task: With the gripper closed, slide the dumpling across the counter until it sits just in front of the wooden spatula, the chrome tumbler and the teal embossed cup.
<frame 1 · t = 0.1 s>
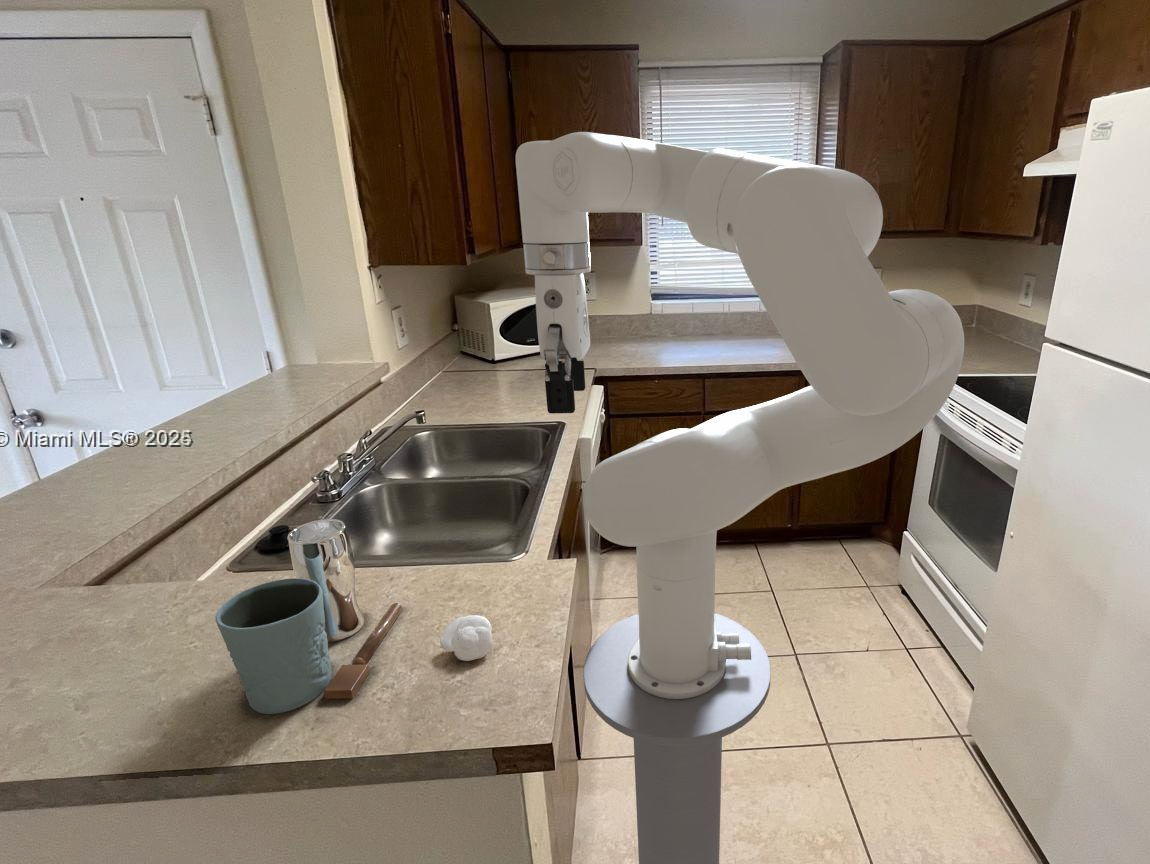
hand: (567, 400, 77), 31 cm above the counter, tool pointing down, fingers open, 9 cm apart
teal embossed cup: (294, 687, 73), on the counter
dumpling: (468, 651, 79), on the counter
wooden spatula: (371, 651, 79), on the counter
chrome tumbler: (340, 629, 83), on the counter
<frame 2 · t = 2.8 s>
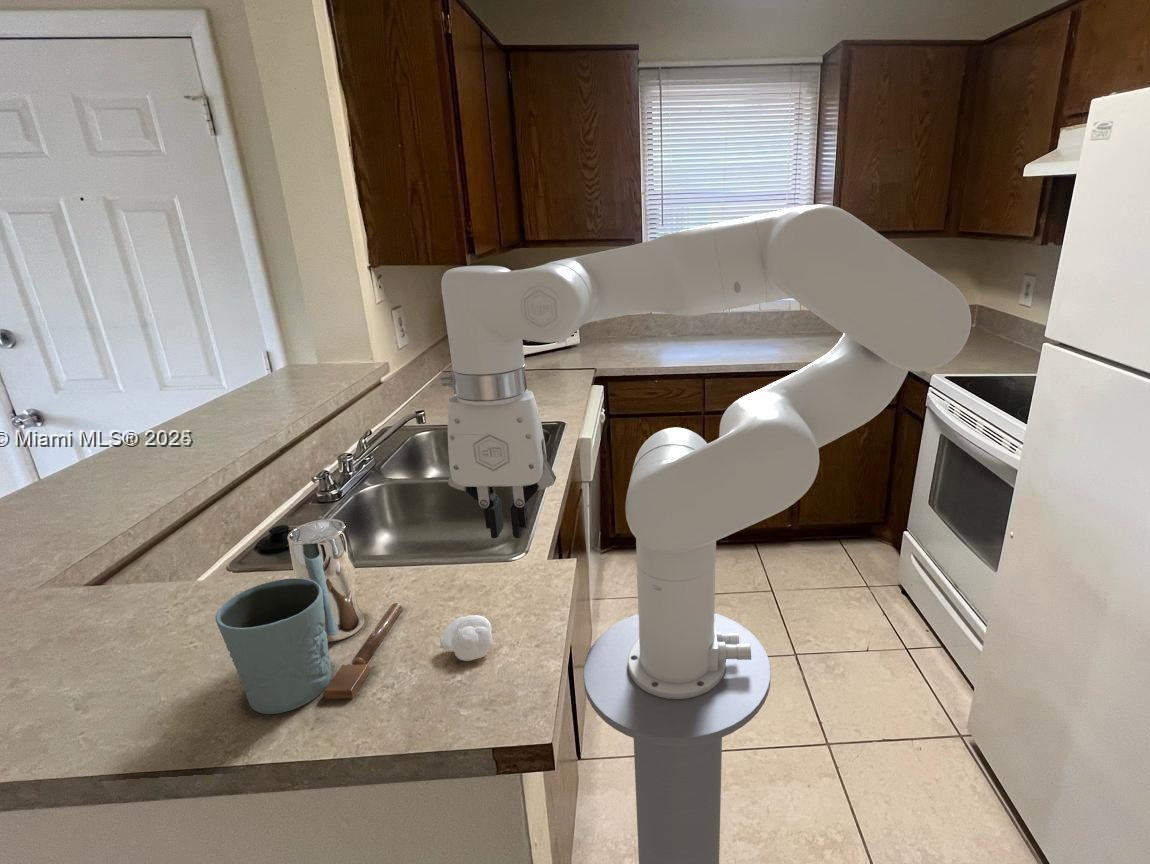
hand: (508, 531, 73), 17 cm above the counter, tool pointing down, fingers closed
nothing on the counter moved.
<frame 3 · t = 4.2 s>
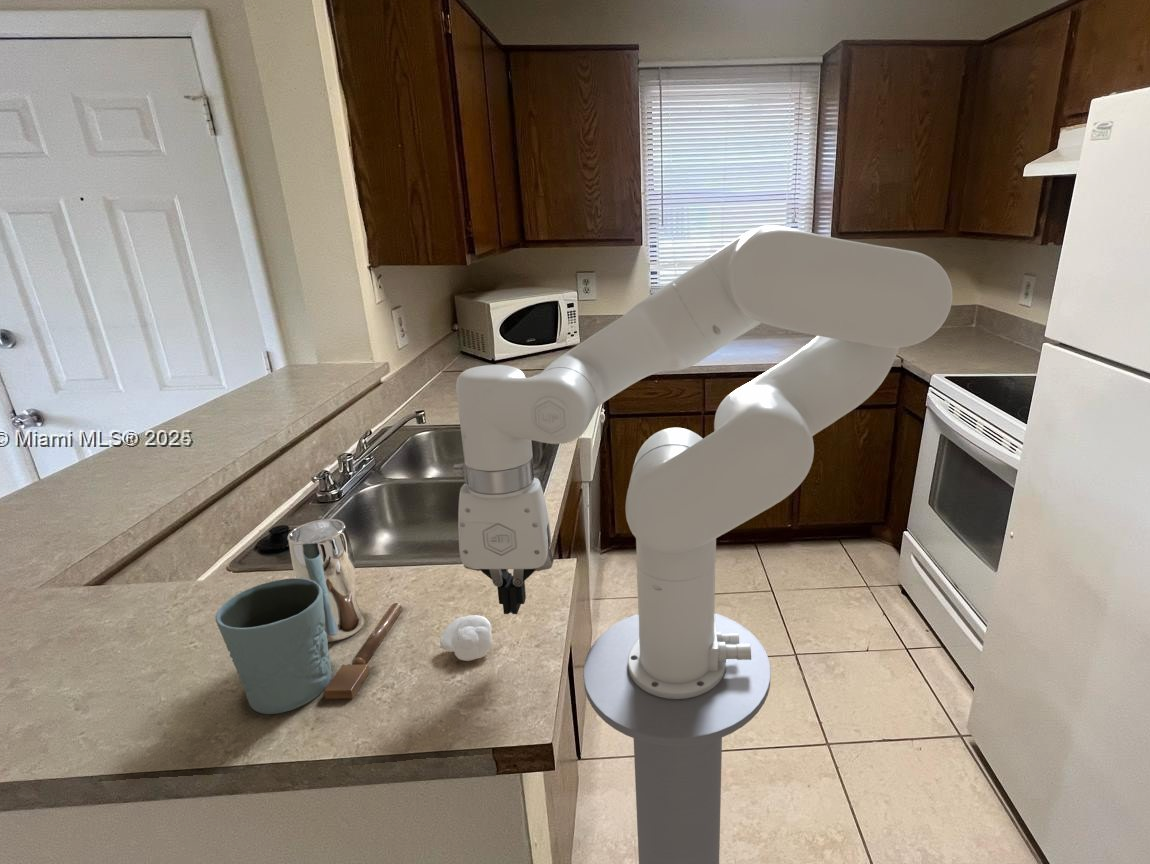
hand: (513, 607, 77), 6 cm above the counter, tool pointing down, fingers closed
nothing on the counter moved.
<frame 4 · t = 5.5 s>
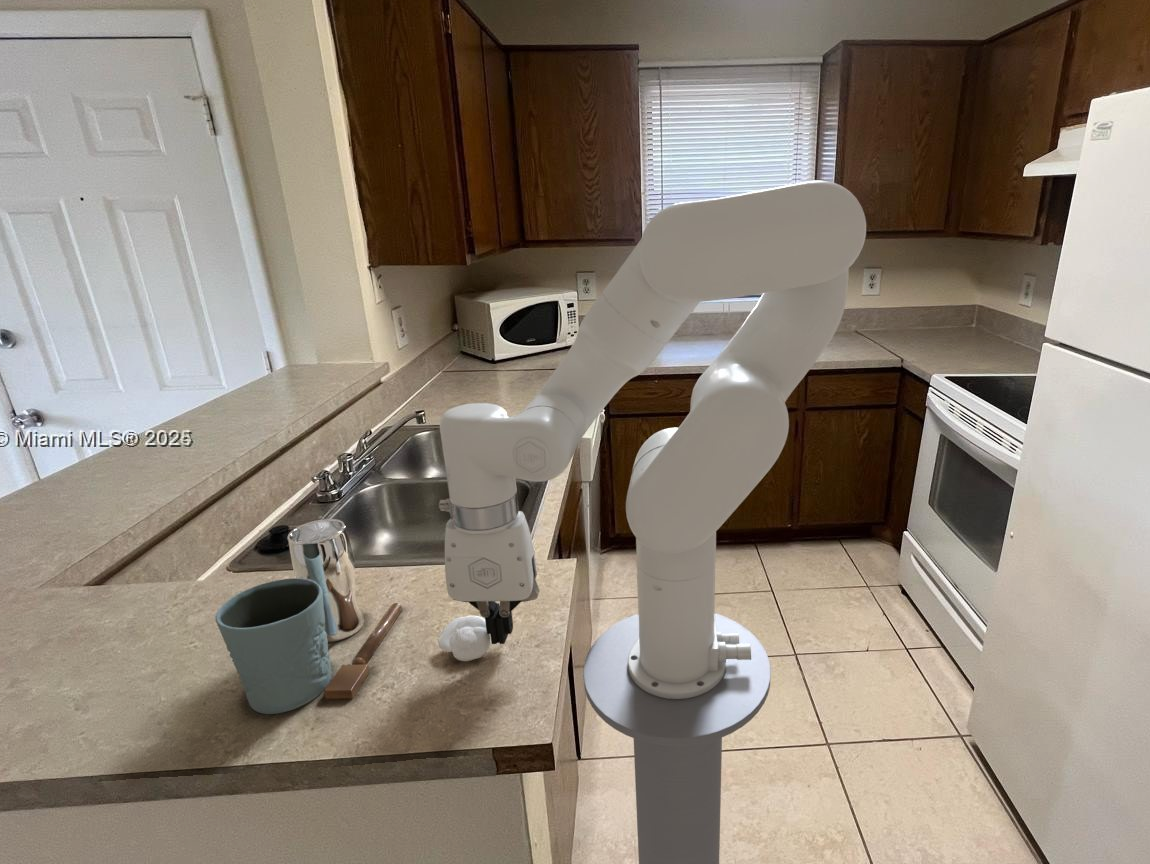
hand: (501, 636, 78), 2 cm above the counter, tool pointing down, fingers closed
dumpling: (466, 651, 79), on the counter, touching gripper
everything else where it was.
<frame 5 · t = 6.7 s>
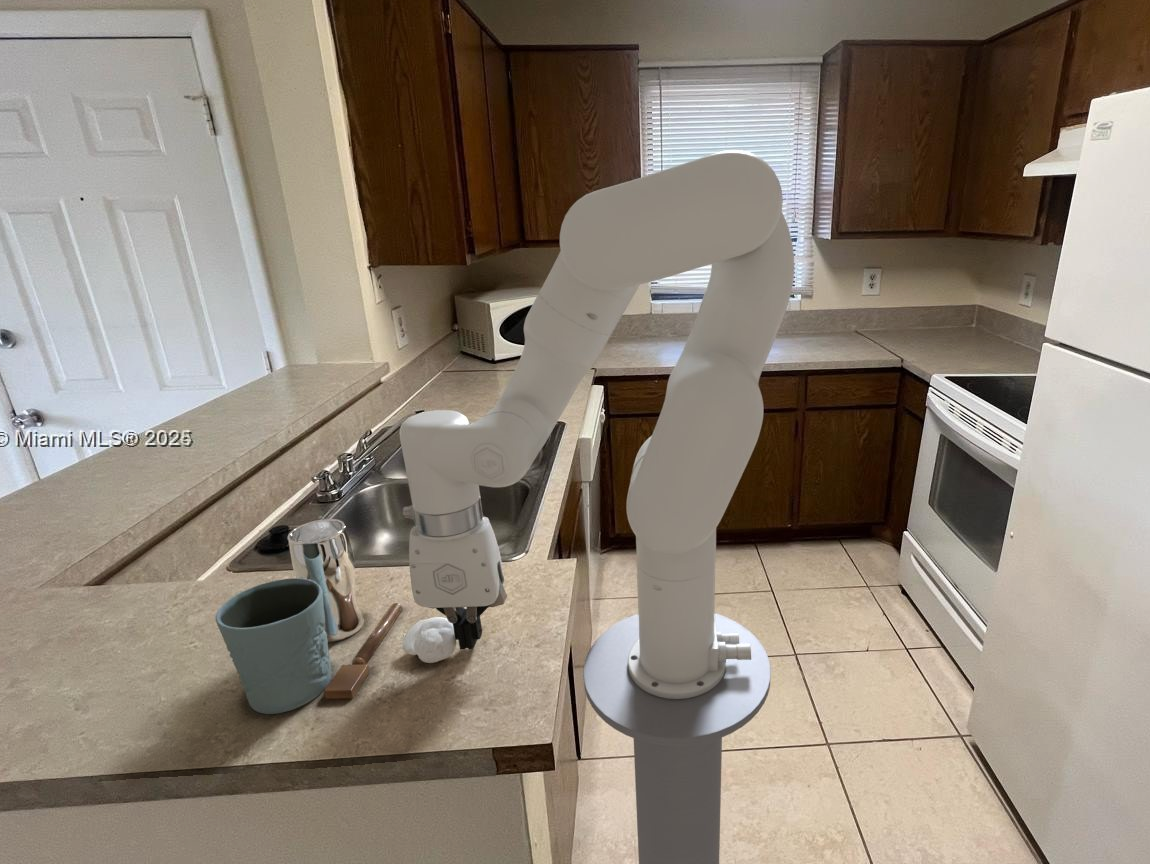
hand: (470, 642, 78), 1 cm above the counter, tool pointing down, fingers closed
dumpling: (431, 653, 79), on the counter, touching gripper
everything else where it was.
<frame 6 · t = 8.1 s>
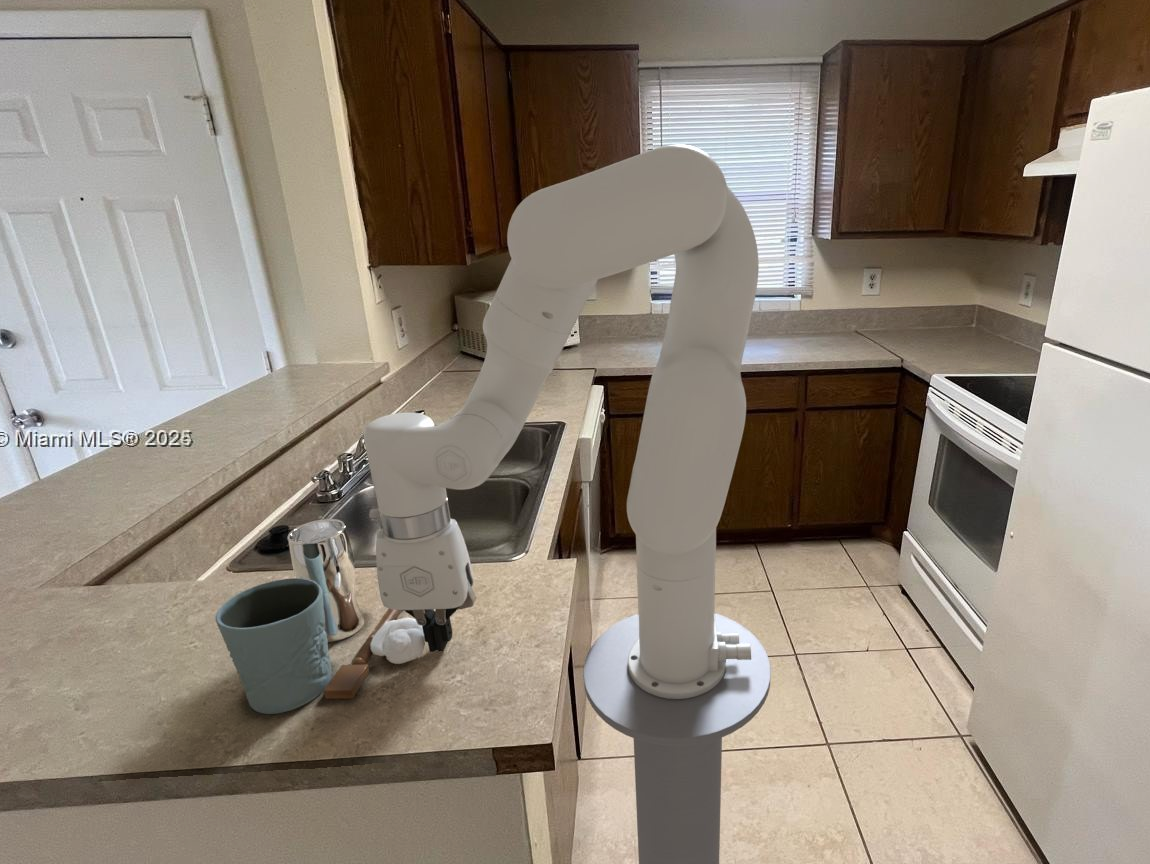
hand: (440, 644, 78), 1 cm above the counter, tool pointing down, fingers closed
dumpling: (400, 654, 78), on the counter, touching gripper
everything else where it was.
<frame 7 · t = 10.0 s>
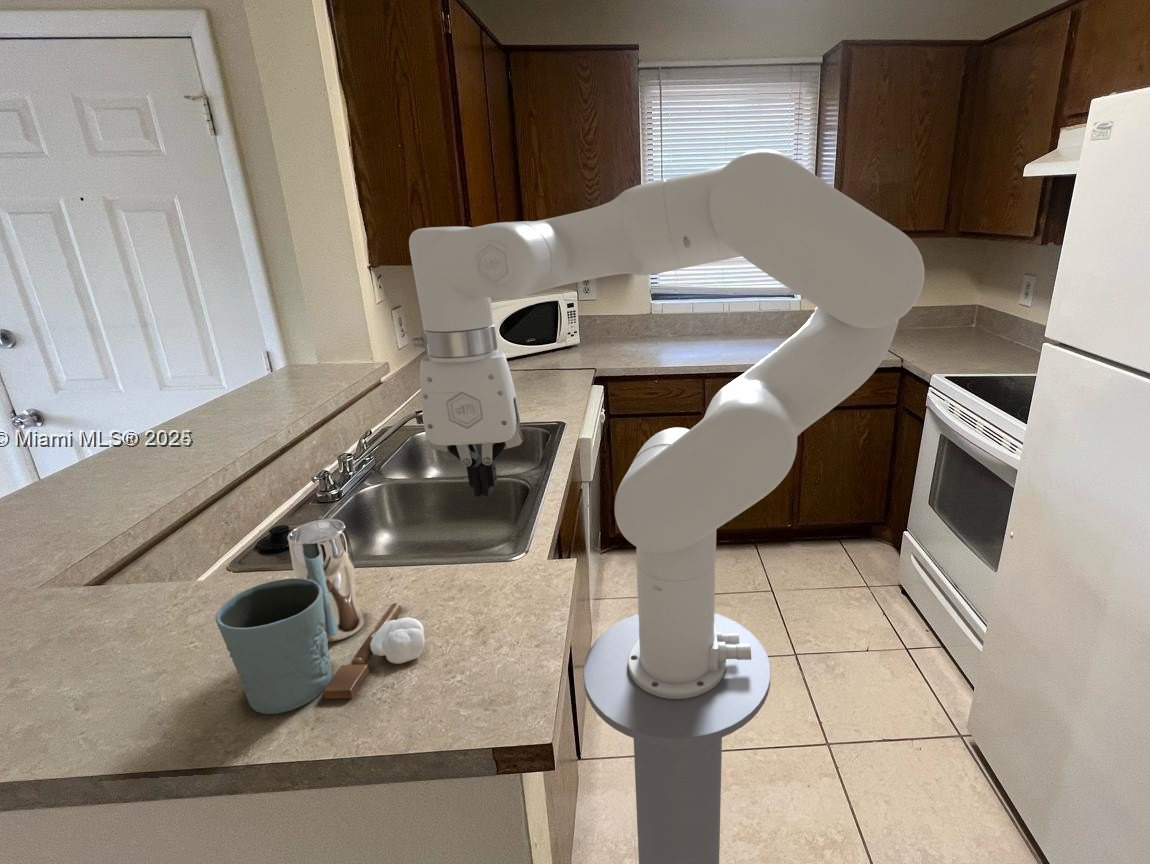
hand: (485, 491, 75), 21 cm above the counter, tool pointing down, fingers closed
dumpling: (400, 654, 78), on the counter
everything else where it was.
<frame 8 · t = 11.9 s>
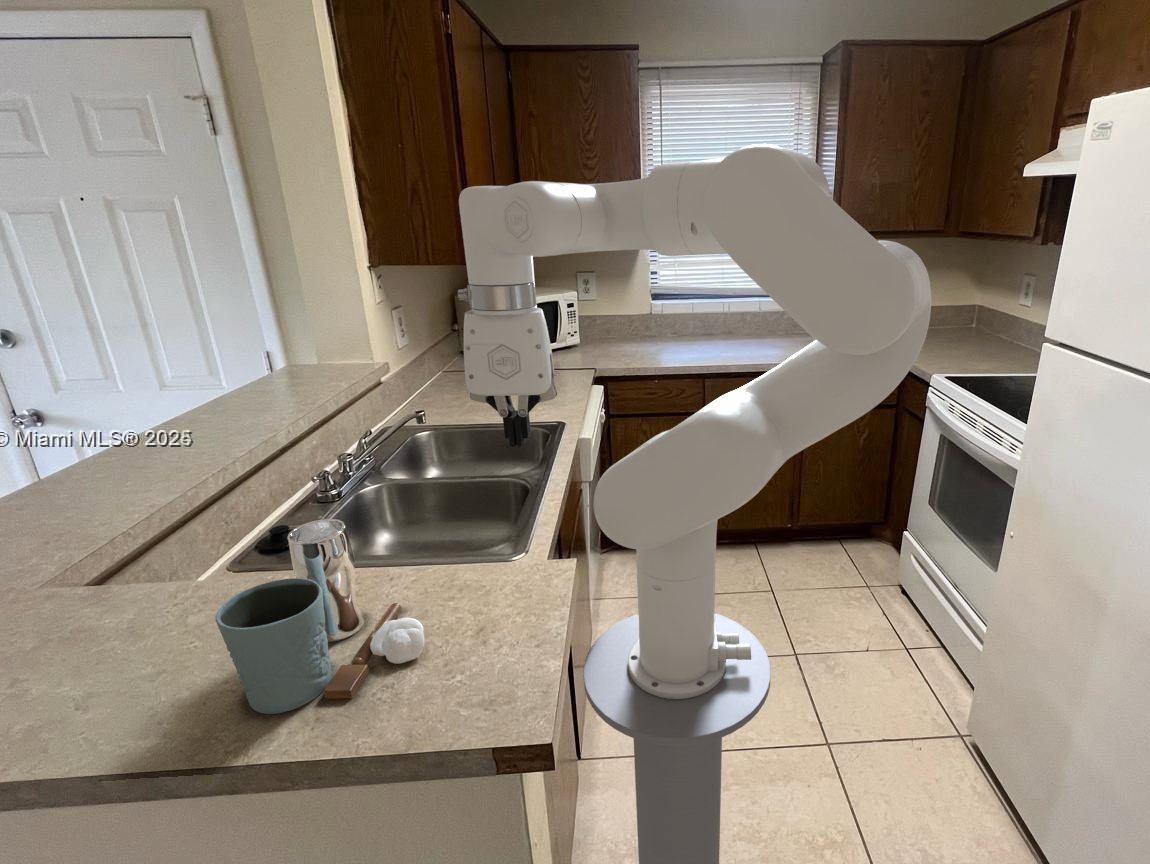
hand: (518, 443, 79), 25 cm above the counter, tool pointing down, fingers closed
nothing on the counter moved.
at the end: dumpling inside the target area (1.9 cm from its centre), on the counter; dumpling moved 8.6 cm from its start; chrome tumbler moved 0.2 cm from its start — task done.
